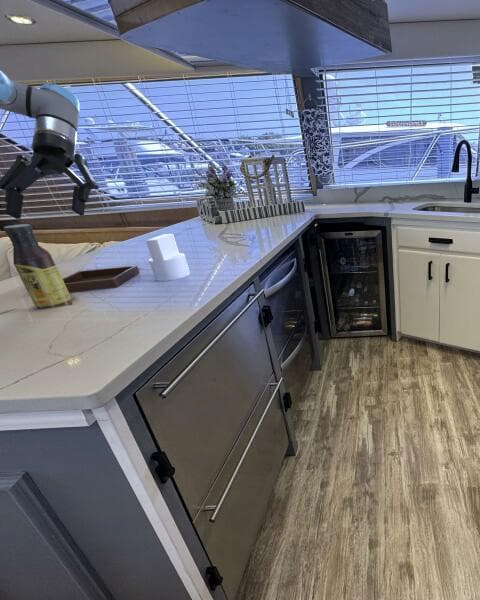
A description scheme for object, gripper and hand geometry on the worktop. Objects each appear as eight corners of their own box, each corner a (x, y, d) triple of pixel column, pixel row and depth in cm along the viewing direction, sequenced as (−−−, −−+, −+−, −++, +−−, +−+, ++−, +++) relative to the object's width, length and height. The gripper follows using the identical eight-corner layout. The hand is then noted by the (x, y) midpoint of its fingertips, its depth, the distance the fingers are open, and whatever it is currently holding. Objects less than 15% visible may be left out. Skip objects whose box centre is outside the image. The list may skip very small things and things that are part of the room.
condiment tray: (50, 294, 87) (45, 286, 86) (82, 278, 99) (78, 271, 98) (116, 287, 90) (113, 279, 89) (139, 273, 102) (137, 265, 101)
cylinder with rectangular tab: (165, 272, 102) (152, 234, 97) (195, 270, 102) (184, 232, 98) (148, 282, 93) (133, 241, 89) (181, 279, 94) (167, 239, 89)
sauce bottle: (33, 311, 76) (-13, 227, 68) (65, 301, 82) (26, 222, 74) (47, 315, 74) (1, 228, 66) (80, 304, 79) (41, 223, 71)
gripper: (119, 150, 89) (114, 218, 84) (13, 152, 85) (1, 225, 80) (98, 129, 82) (92, 203, 77) (-19, 131, 78) (-34, 209, 73)
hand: (45, 214), depth 79 cm, fingers open, 13 cm apart
